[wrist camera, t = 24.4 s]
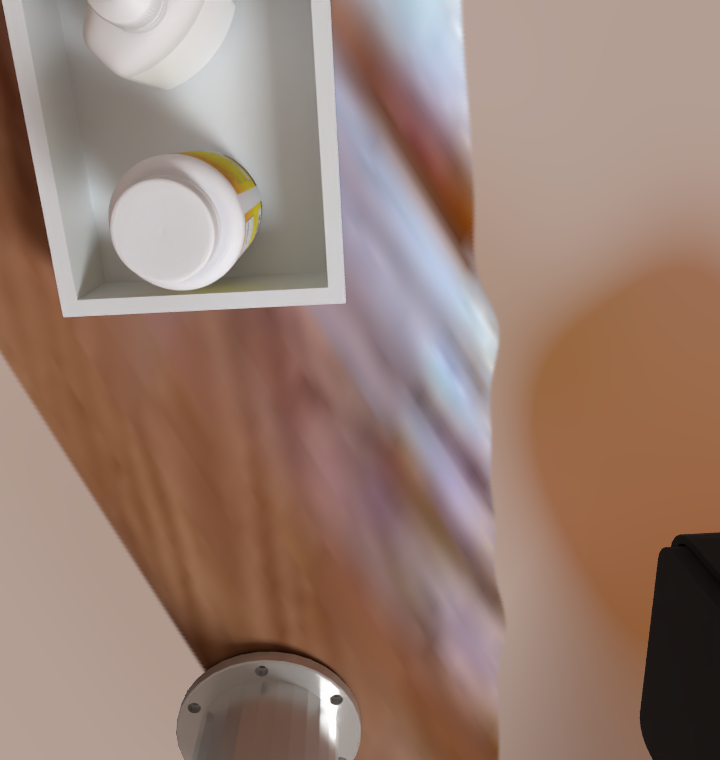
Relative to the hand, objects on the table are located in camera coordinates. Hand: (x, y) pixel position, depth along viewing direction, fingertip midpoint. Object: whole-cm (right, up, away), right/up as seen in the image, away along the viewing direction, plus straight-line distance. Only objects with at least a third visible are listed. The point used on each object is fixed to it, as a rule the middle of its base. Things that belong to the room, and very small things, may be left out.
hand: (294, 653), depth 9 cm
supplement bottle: (-7, +12, +27) cm, 30 cm away
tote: (-7, +17, +26) cm, 32 cm away
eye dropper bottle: (-8, +20, +24) cm, 32 cm away
